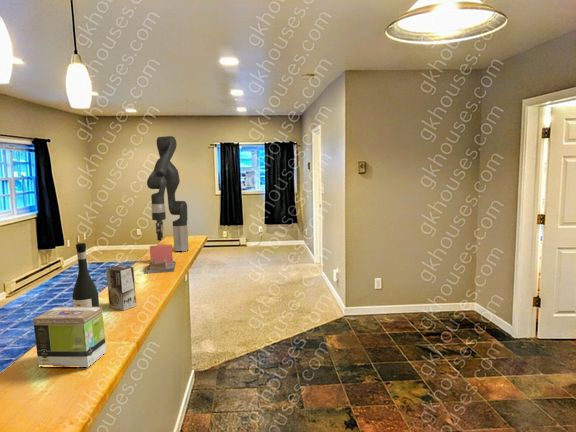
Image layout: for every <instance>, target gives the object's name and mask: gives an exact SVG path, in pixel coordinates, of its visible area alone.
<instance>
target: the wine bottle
mask: <svg viewBox="0 0 576 432" xmlns="http://www.w3.org/2000/svg"><path fill="white" fill-rule="evenodd" d="M86 248H87V244H86V243H85V242H79V243H76V244H75V250H76V255H77V265H78V272H77V273H78V274H77V277H76V281H75V284H74V286H73V291H72V305H73V306H72V307H100V300H99V292H98V289H97V286H96V284H95V282H94V281H93V279H92V277H91V275H90V273H89V269H88V264H87V263H88V262H87V252H86V251H87V249H86Z"/></svg>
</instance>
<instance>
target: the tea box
mask: <svg viewBox="0 0 576 432" xmlns="http://www.w3.org/2000/svg"><path fill="white" fill-rule="evenodd" d="M103 314H104V313H103V308H102V306H99V307H73V306H55V307H53V308H52V309H49V310H48V311H46V312H44V313H41V314H39V315H37V316H35V317H33V319H32V320H33V330H34V337H35V346H36V356H37V365H38V366H39V365H53V366H79V367H88V366H90V365H91V364H93V363H94V362H95V361H96V360H97V359H99V358H100V357H101V356H102V355H103V354H104V353H107V350H106V349H107V348H106V347H107V346H106V337H105V336H106V335H105V326H104V315H103ZM104 355H105V354H104ZM104 355H103V356H104ZM103 356H102V357H103ZM102 357H101V358H102ZM101 358H100V359H101ZM100 359H99V360H100ZM97 361H98V360H97ZM97 361H96V362H97ZM96 362H95V363H96ZM95 363H94V364H95ZM94 364H93V365H94ZM91 366H92V365H91ZM91 366H90V367H91Z"/></svg>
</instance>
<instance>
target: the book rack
mask: <svg viewBox="0 0 576 432" xmlns="http://www.w3.org/2000/svg"><path fill="white" fill-rule="evenodd" d="M171 262H173V266H172V267H166V268H165V263H164V262H158V263H155V257H152V259H151V258H150V261H149V264H148V266H147V269H146V270H145V274H147V273H149V274H159V273H171V272H172V273H173V272H175V268H176V263H177V262H176V261H175V260H173V261H171ZM167 263H168V262H167ZM147 275H148V274H147Z"/></svg>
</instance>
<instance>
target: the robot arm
mask: <svg viewBox="0 0 576 432" xmlns="http://www.w3.org/2000/svg"><path fill="white" fill-rule="evenodd" d="M177 146H178V145H177V139H176V138H175V137H174V136H171V135H165V136H158V137H157V138H156V147H157V151H158V155H159V158H158V159H157V161H156V162H155V165H154V167H153V168H154V169H153V171H152V172H151V174H150V175H149V176H148V178H147V180H146V185H147V187H148V189H150V190H158V192H155V193H152V194H151V197H150V198H151V219H152V221H156V222H155V223H154V224H155V230H156V231H155V233H156V236H157V237H156V238H157V241H158V242H160V241H162V239H163V238H164V236H163V235H164V233H163V232H164V221H165V220H166V219H167V217H166V206H165V204H166V203H165V193H166V195H167V204H168V206H167V207H168V211H169V214H171V215H172V216H179V218H178V219H175V220H173V221H172V233H173V234H172V235H173V251H174V250H175V251H186V252H188V251H189V247H190V246H189V234H188V233H189V232H188V230H189V229H188V205H187V202H186V201H184V200H177V199H176V192H177V189H178V187H179V185H180V180H181V179H180V176H179V175H180V174H179V171H178V168H177V167H176V166H175V165H174V164H173V162H172V161H171V160H172V158H173V155H174V154H175V152H176V150H177ZM187 250H188V251H187Z"/></svg>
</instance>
